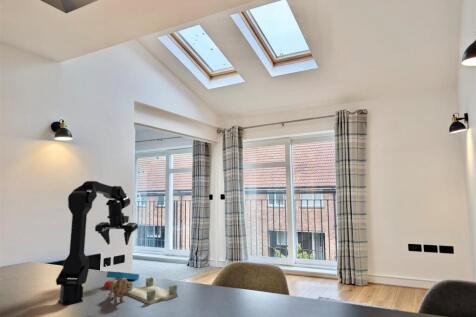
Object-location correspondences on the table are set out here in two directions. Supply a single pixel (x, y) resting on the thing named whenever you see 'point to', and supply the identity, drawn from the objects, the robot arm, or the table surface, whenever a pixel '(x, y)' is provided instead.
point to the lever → (119, 277)
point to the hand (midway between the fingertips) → (117, 244)
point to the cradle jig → (152, 292)
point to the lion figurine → (119, 289)
